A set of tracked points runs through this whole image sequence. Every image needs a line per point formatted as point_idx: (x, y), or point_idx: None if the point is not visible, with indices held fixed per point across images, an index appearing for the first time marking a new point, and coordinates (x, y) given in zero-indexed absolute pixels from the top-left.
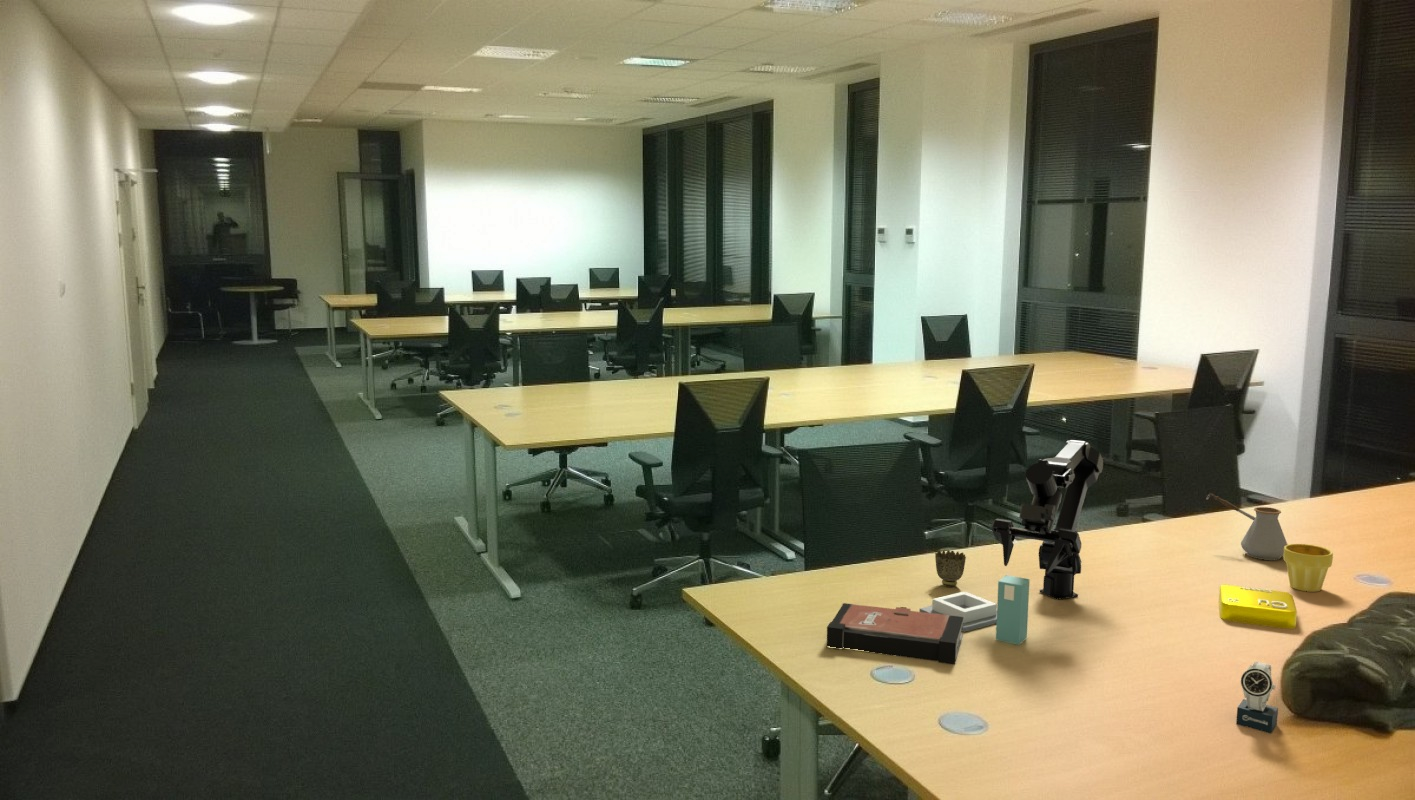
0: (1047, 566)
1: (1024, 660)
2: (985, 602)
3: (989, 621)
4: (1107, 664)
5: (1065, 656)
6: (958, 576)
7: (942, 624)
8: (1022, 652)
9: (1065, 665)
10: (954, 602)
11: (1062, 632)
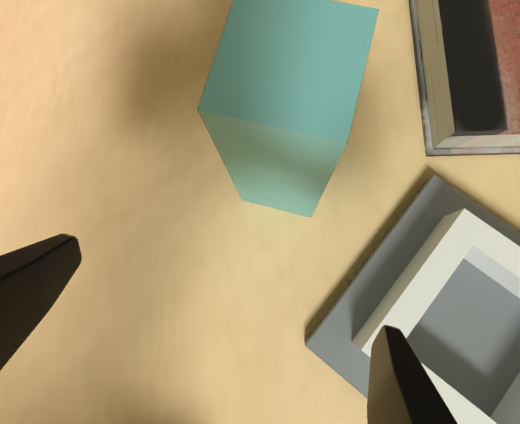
0: (44, 253)
1: None
2: None
3: (365, 265)
4: (45, 87)
5: (141, 101)
6: None
7: (507, 38)
8: None
9: (144, 46)
10: None
11: (138, 282)
